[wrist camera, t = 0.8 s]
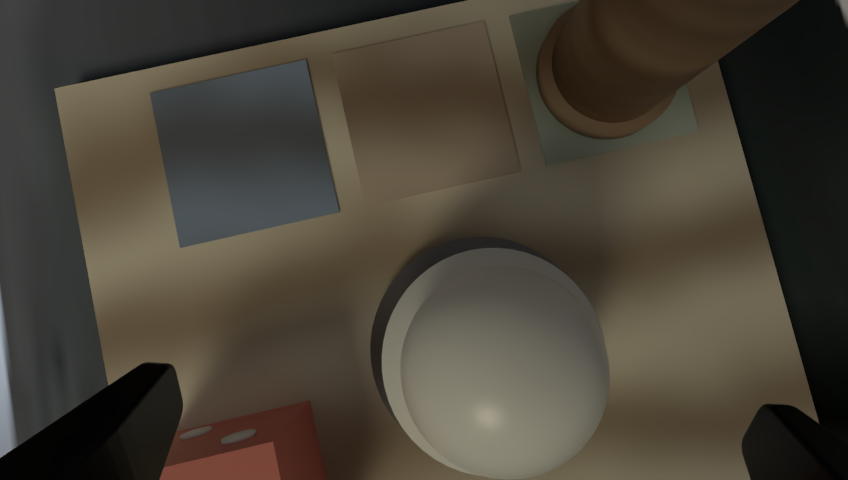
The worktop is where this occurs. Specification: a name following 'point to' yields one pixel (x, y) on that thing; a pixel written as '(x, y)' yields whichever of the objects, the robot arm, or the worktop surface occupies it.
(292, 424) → the die
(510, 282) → the dome
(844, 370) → the worktop surface
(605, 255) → the game board
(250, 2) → the worktop surface
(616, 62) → the pawn
